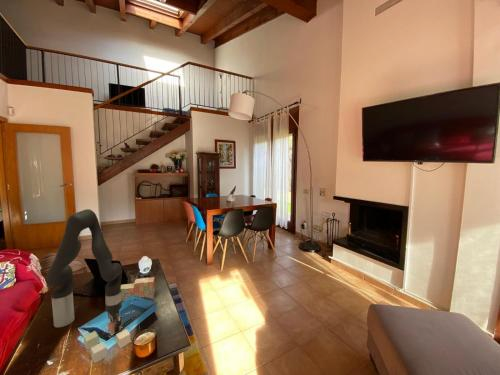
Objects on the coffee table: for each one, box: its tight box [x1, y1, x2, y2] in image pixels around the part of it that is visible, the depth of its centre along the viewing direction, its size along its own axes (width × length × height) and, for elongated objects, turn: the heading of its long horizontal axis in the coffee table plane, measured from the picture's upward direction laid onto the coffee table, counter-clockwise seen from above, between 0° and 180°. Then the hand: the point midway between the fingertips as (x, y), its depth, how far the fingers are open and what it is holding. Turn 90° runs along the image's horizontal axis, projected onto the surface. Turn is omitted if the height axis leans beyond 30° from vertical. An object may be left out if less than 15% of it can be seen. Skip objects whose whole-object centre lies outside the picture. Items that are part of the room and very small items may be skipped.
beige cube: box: [90, 341, 108, 364], centre depth 106 cm, size 5×5×5 cm
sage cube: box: [83, 330, 100, 351], centre depth 113 cm, size 5×5×5 cm
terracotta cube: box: [107, 319, 123, 335], centre depth 121 cm, size 5×5×5 cm
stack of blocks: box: [120, 276, 156, 300], centre depth 152 cm, size 21×6×12 cm, turn 105°
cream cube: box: [115, 328, 131, 349], centre depth 114 cm, size 5×5×5 cm
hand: (115, 329), depth 122 cm, fingers closed on terracotta cube, 5 cm apart
